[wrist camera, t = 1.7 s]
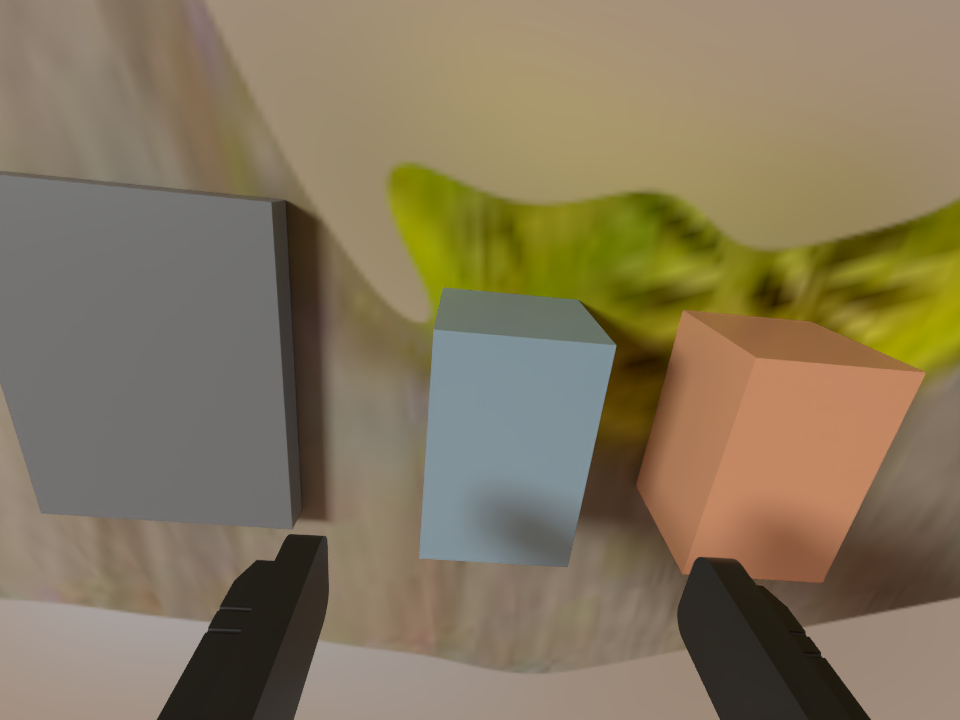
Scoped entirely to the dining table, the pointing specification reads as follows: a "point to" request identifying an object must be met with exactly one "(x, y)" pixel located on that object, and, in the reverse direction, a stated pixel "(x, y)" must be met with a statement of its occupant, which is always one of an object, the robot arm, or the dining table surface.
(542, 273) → the dining table surface
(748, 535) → the terracotta brick
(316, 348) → the dining table surface
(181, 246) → the baseplate
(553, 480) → the slate brick
